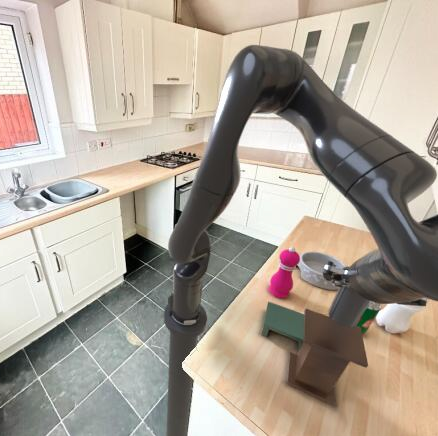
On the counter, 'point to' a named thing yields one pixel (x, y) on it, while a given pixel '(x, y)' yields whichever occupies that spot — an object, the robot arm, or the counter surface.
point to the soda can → (368, 316)
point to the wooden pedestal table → (324, 356)
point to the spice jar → (347, 307)
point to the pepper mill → (284, 273)
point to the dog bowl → (317, 268)
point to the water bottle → (397, 317)
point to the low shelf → (284, 322)
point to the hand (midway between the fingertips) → (354, 287)
